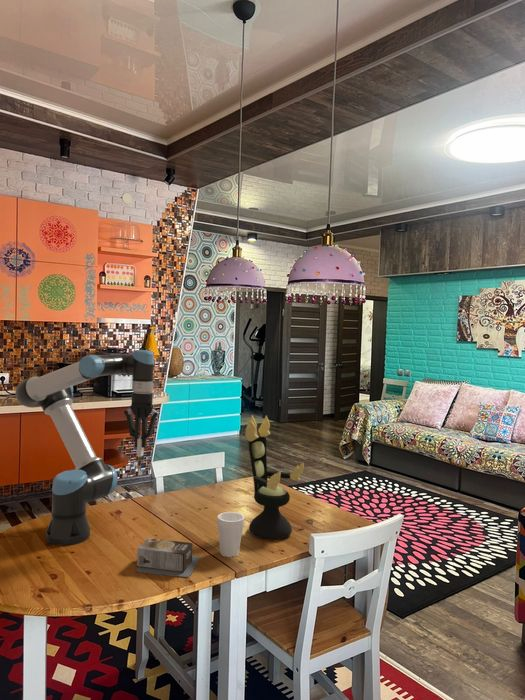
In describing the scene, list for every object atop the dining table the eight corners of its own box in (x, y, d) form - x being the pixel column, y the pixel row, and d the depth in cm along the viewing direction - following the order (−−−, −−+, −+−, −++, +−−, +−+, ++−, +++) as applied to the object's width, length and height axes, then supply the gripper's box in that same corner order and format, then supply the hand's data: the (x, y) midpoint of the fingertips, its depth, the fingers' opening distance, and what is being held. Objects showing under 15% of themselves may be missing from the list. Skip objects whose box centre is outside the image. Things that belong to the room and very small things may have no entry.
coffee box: (148, 536, 177) (193, 542, 174) (147, 555, 177) (192, 560, 175) (137, 547, 168) (184, 553, 165) (136, 567, 168) (184, 573, 165)
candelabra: (277, 547, 189) (282, 424, 187) (227, 532, 201) (232, 416, 199) (301, 531, 205) (307, 418, 203) (254, 518, 217) (259, 411, 215)
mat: (135, 572, 165) (135, 571, 165) (151, 552, 180) (151, 551, 180) (189, 577, 163) (189, 577, 163) (200, 557, 178) (200, 556, 178)
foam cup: (210, 552, 183) (212, 515, 182) (230, 545, 189) (232, 510, 188) (228, 561, 176) (229, 523, 175) (248, 554, 182) (249, 517, 182)
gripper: (121, 392, 188) (119, 456, 189) (156, 394, 186) (153, 459, 187) (129, 390, 195) (127, 452, 196) (162, 392, 193) (160, 454, 194)
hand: (140, 455), depth 192 cm, fingers closed
